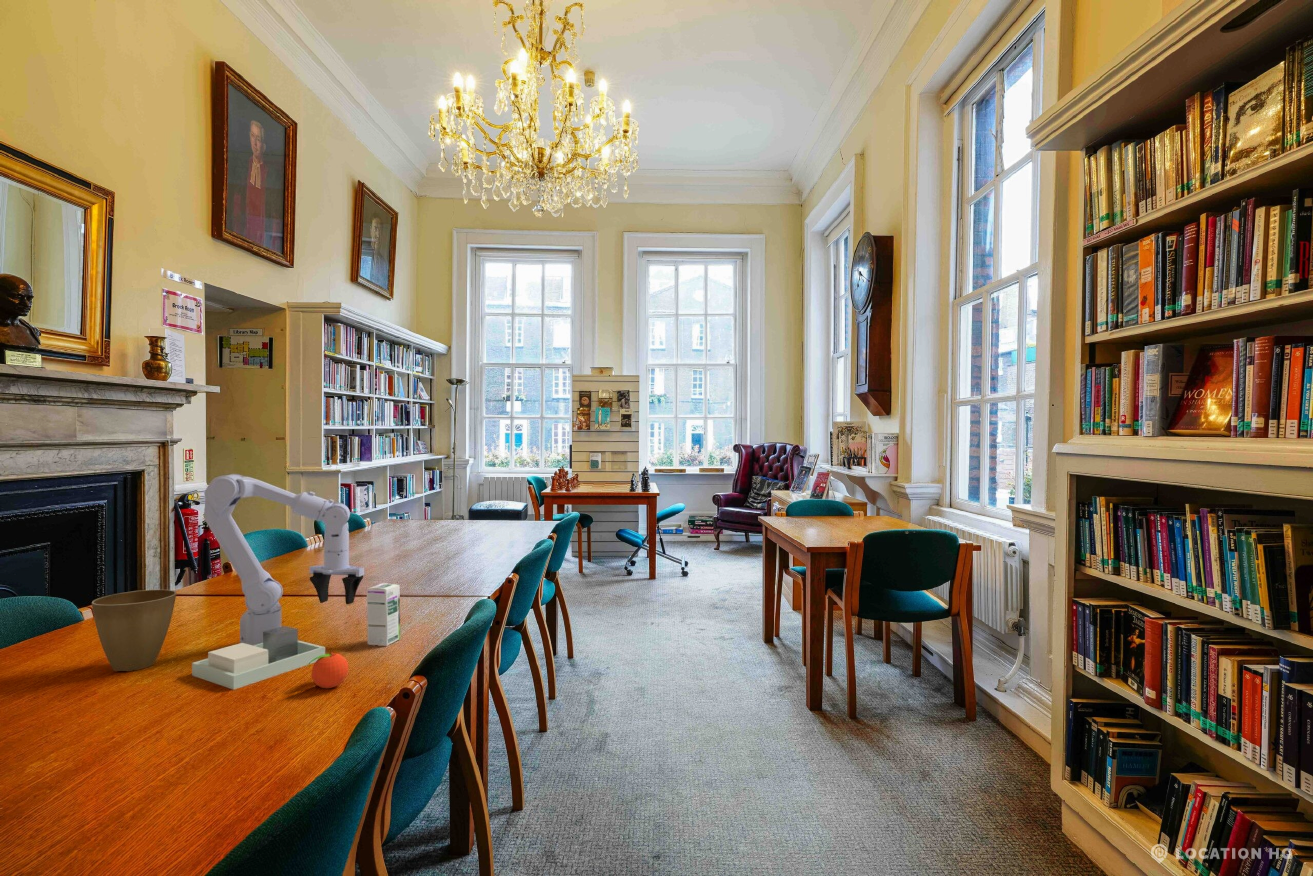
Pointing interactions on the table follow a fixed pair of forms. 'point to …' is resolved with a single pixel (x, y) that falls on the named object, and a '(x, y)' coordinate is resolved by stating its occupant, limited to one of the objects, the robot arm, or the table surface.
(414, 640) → the table surface
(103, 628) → the plant pot
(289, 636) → the tin
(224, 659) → the off-white block
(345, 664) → the clementine
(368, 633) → the syrup box
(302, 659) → the pale green tray
